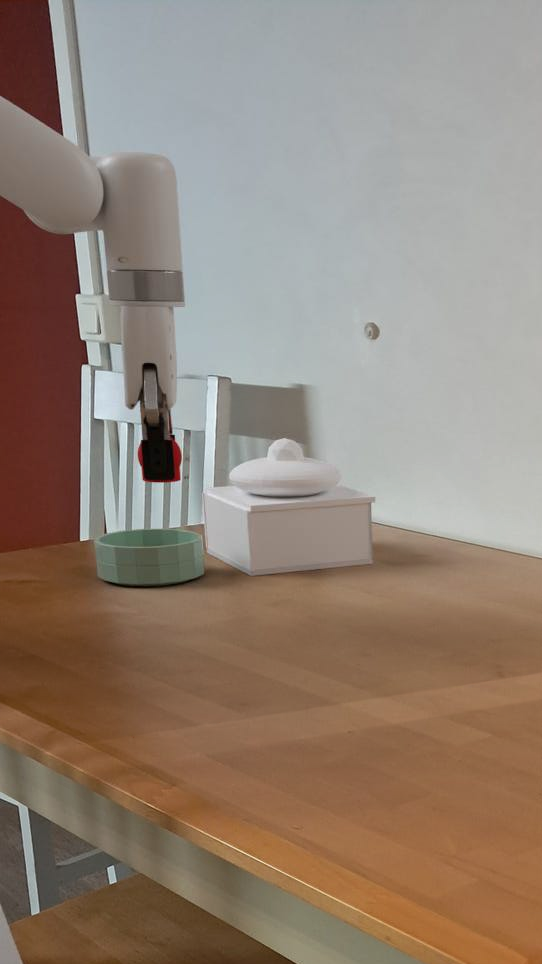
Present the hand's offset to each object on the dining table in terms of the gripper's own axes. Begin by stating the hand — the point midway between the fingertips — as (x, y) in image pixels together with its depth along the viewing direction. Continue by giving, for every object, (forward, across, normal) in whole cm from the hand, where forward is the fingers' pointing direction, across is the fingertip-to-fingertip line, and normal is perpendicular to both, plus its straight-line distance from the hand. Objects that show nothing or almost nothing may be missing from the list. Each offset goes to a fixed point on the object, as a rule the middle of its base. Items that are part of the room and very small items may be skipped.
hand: (161, 474), depth 137 cm
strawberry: (+1, 0, 0) cm, 1 cm away
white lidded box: (+16, -33, +14) cm, 39 cm away
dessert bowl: (+16, -23, -4) cm, 28 cm away
